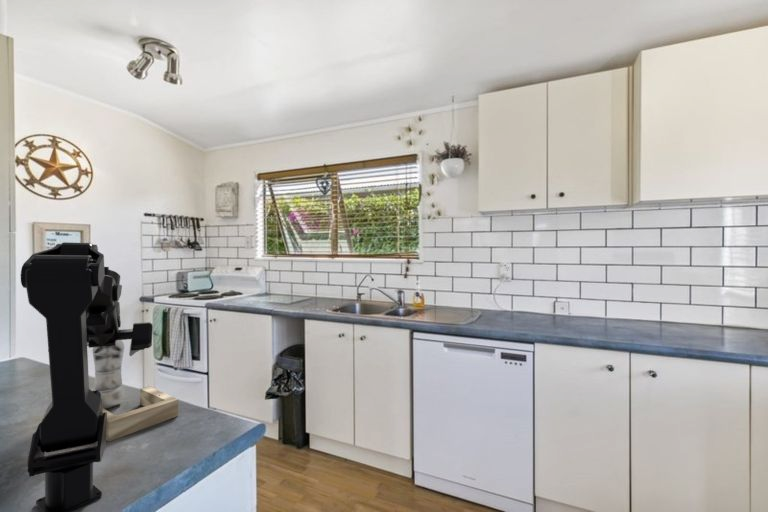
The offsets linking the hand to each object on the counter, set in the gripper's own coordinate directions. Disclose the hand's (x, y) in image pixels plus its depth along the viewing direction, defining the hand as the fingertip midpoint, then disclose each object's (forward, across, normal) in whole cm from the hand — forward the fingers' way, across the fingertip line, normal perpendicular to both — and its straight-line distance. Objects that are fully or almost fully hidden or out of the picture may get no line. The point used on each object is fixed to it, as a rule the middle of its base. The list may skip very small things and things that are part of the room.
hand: (108, 356), depth 89 cm
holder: (+2, -6, +16) cm, 17 cm away
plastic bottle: (+10, 0, +9) cm, 13 cm away
